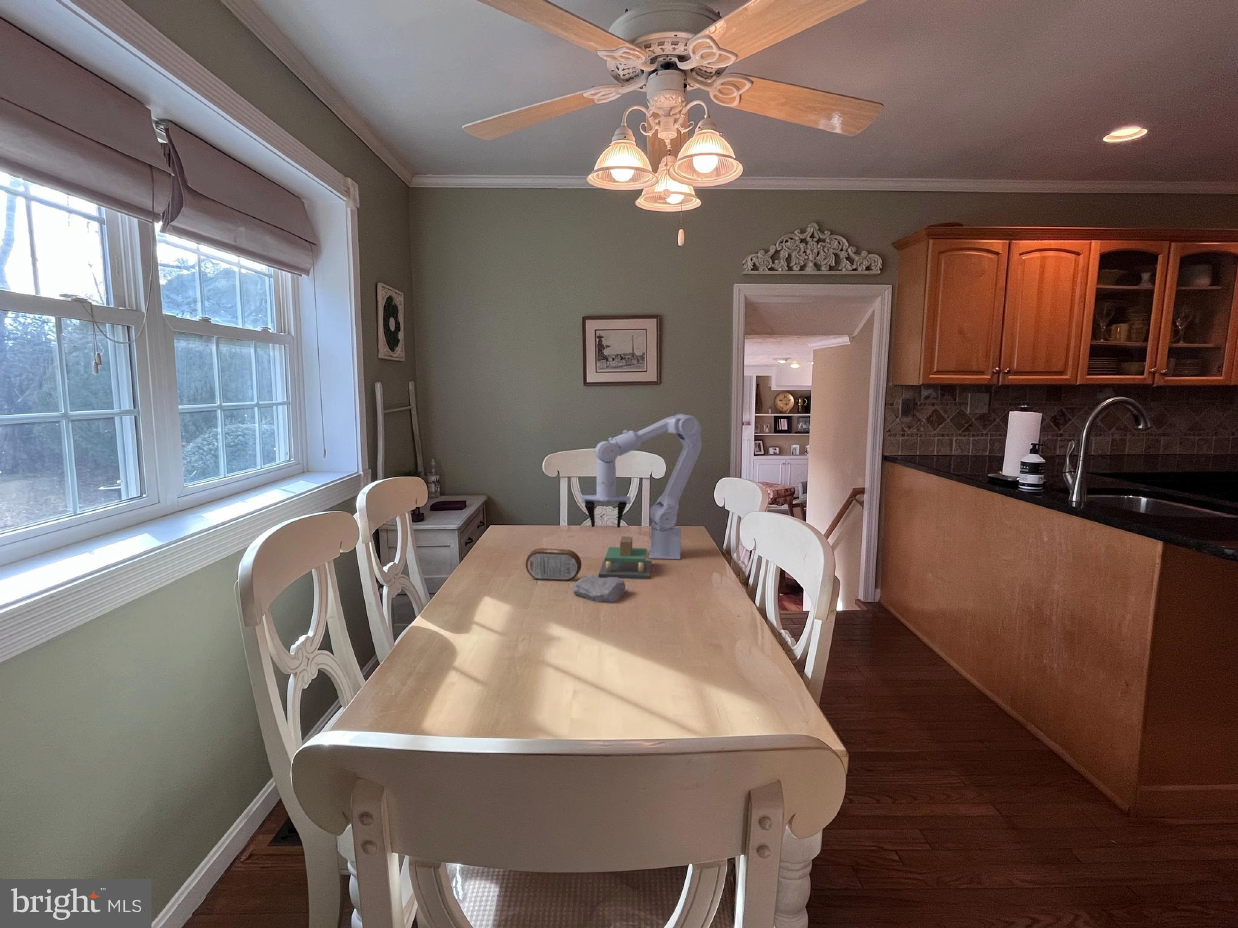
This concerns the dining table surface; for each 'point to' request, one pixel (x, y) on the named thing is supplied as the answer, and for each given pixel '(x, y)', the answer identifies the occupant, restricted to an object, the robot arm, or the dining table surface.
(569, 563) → the tin
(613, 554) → the board
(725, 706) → the dining table surface
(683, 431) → the robot arm
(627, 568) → the chassis
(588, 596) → the stone block
